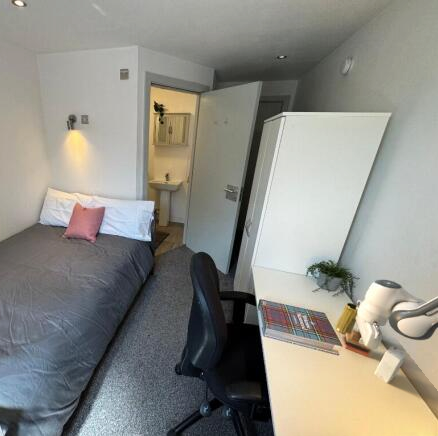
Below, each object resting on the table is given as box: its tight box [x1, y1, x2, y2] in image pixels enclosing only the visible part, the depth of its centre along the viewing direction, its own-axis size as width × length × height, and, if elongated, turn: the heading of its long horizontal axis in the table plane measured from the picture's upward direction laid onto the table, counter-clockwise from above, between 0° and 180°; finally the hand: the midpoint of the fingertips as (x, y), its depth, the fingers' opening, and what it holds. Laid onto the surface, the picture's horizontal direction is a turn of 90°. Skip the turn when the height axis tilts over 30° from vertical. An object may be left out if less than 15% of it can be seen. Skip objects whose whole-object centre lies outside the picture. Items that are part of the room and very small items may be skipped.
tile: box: [342, 336, 371, 358], centre depth 101 cm, size 8×6×1 cm
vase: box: [334, 302, 358, 335], centre depth 108 cm, size 6×6×14 cm
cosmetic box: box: [374, 346, 408, 384], centre depth 88 cm, size 6×4×12 cm
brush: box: [343, 329, 373, 354], centre depth 100 cm, size 8×4×6 cm, turn 59°
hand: (360, 339), depth 99 cm, fingers closed on brush, 2 cm apart
